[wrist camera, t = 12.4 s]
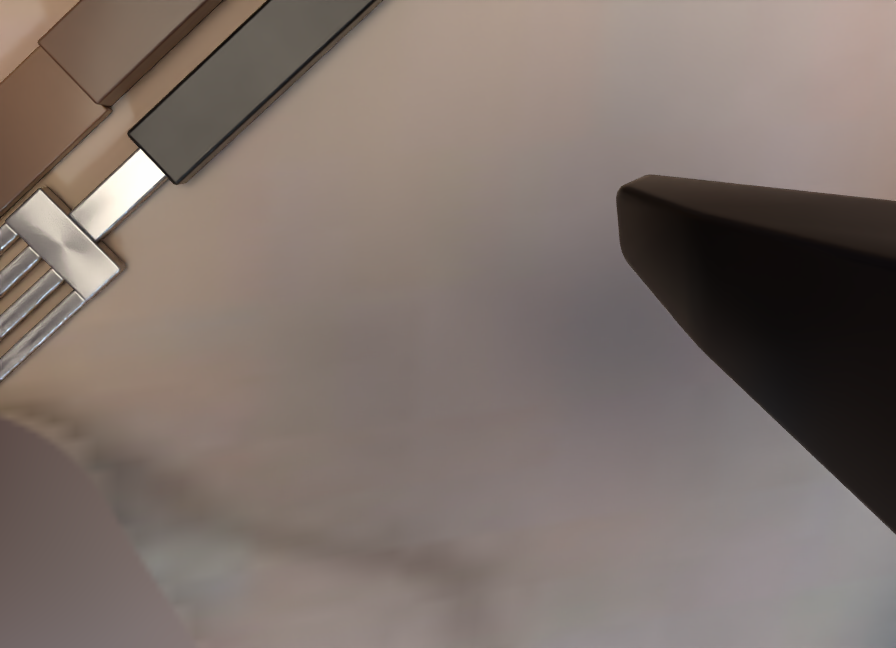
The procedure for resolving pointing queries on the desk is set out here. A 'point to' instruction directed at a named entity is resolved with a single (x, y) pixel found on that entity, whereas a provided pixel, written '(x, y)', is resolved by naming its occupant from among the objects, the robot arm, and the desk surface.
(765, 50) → the desk surface
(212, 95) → the black-handled fork
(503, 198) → the desk surface
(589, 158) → the desk surface
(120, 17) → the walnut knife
